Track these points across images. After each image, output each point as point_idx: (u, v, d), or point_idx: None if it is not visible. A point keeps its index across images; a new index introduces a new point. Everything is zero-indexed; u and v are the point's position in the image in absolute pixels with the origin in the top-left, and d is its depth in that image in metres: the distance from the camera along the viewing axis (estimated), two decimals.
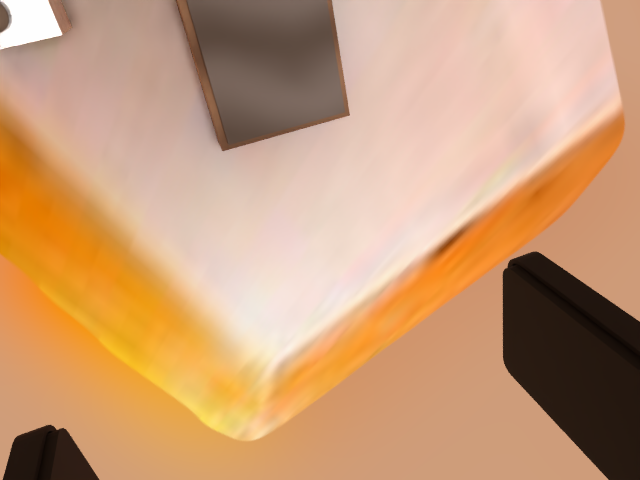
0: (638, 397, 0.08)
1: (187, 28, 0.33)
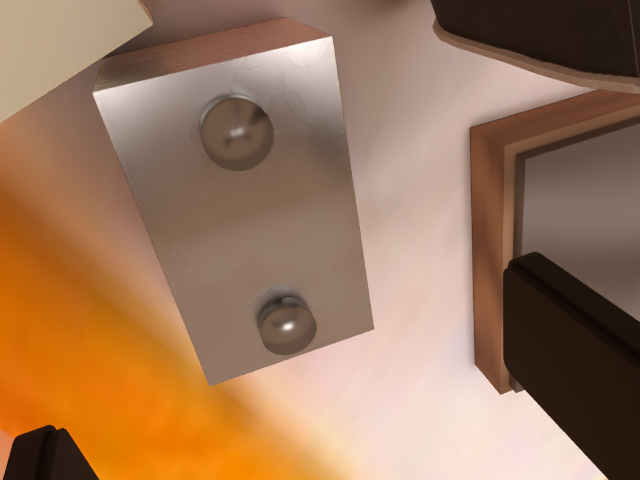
0: (638, 397, 0.08)
1: (504, 263, 0.22)
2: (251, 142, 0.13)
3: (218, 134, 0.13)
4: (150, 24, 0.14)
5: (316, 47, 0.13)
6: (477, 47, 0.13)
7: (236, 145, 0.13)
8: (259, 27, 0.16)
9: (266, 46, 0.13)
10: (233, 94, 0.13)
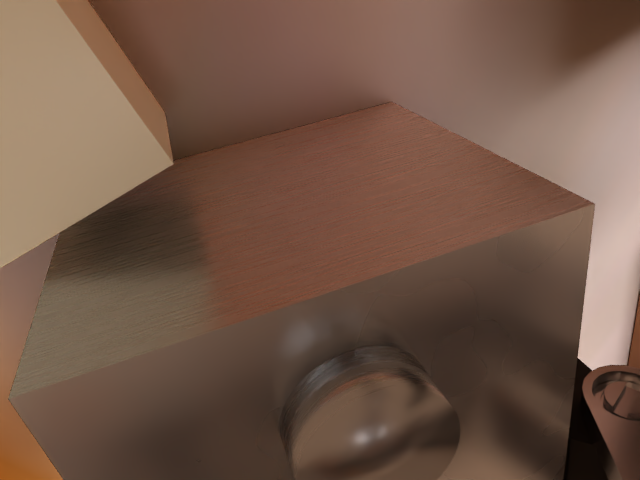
0: None
1: None
2: (408, 463, 0.05)
3: (335, 465, 0.05)
4: (167, 164, 0.06)
5: (557, 230, 0.05)
6: None
7: (374, 476, 0.05)
8: (362, 132, 0.09)
9: (432, 222, 0.06)
10: (364, 349, 0.05)
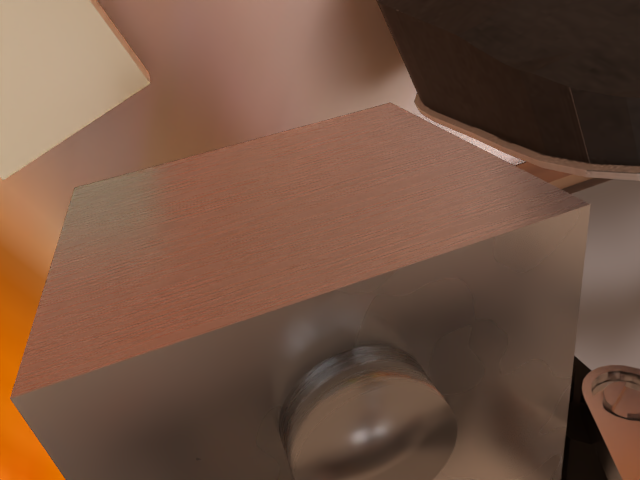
0: None
1: None
2: (405, 461, 0.05)
3: (334, 463, 0.05)
4: (147, 83, 0.15)
5: (553, 230, 0.06)
6: (453, 124, 0.15)
7: (371, 474, 0.05)
8: (361, 133, 0.09)
9: (429, 223, 0.06)
10: (362, 348, 0.05)
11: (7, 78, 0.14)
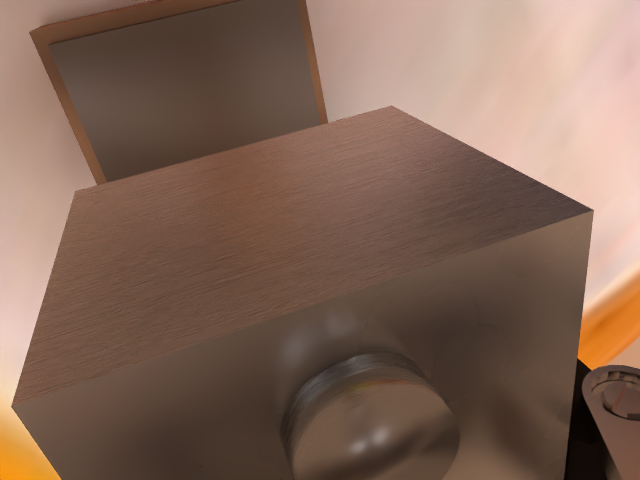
0: None
1: (95, 175, 0.21)
2: (408, 468, 0.05)
3: (336, 470, 0.05)
4: None
5: (556, 236, 0.06)
6: None
7: None
8: (363, 137, 0.09)
9: (432, 228, 0.06)
10: (365, 355, 0.05)
11: None
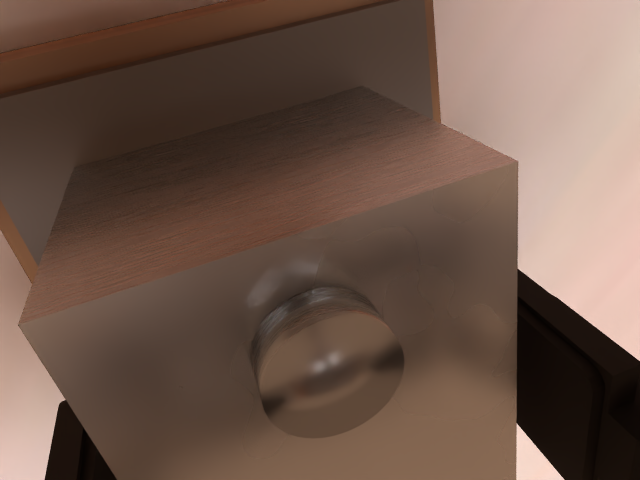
0: (577, 391, 0.08)
1: None
2: (359, 386, 0.06)
3: (295, 384, 0.06)
4: None
5: (486, 185, 0.06)
6: None
7: (329, 397, 0.06)
8: (333, 112, 0.10)
9: (380, 181, 0.07)
10: (320, 288, 0.06)
11: None
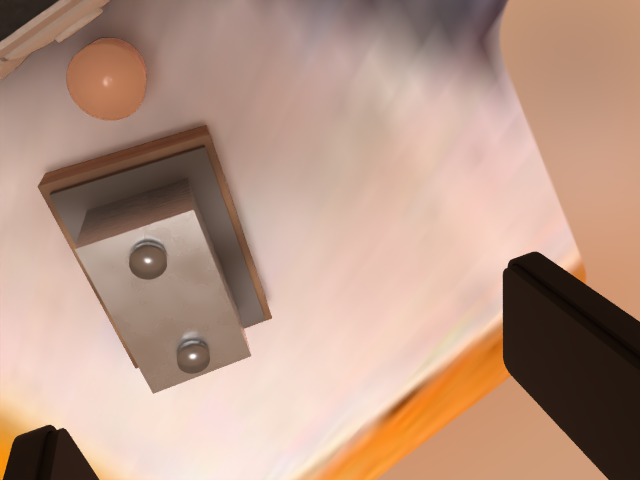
0: (638, 397, 0.08)
1: (82, 267, 0.31)
2: (155, 265, 0.26)
3: (137, 263, 0.25)
4: None
5: (186, 215, 0.26)
6: None
7: (147, 268, 0.26)
8: (170, 190, 0.29)
9: (162, 215, 0.26)
10: (145, 242, 0.26)
11: None
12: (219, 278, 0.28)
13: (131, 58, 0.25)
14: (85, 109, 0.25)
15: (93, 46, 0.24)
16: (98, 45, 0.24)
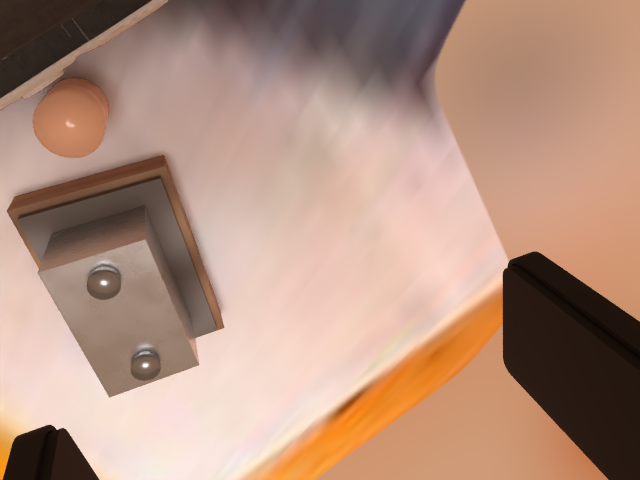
0: (638, 397, 0.08)
1: None
2: (110, 287, 0.29)
3: (94, 286, 0.29)
4: None
5: (138, 244, 0.29)
6: None
7: (103, 289, 0.29)
8: (127, 217, 0.32)
9: (117, 243, 0.29)
10: (101, 266, 0.29)
11: None
12: (169, 298, 0.31)
13: (91, 105, 0.28)
14: (49, 148, 0.29)
15: (57, 95, 0.28)
16: (61, 94, 0.28)
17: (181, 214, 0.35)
